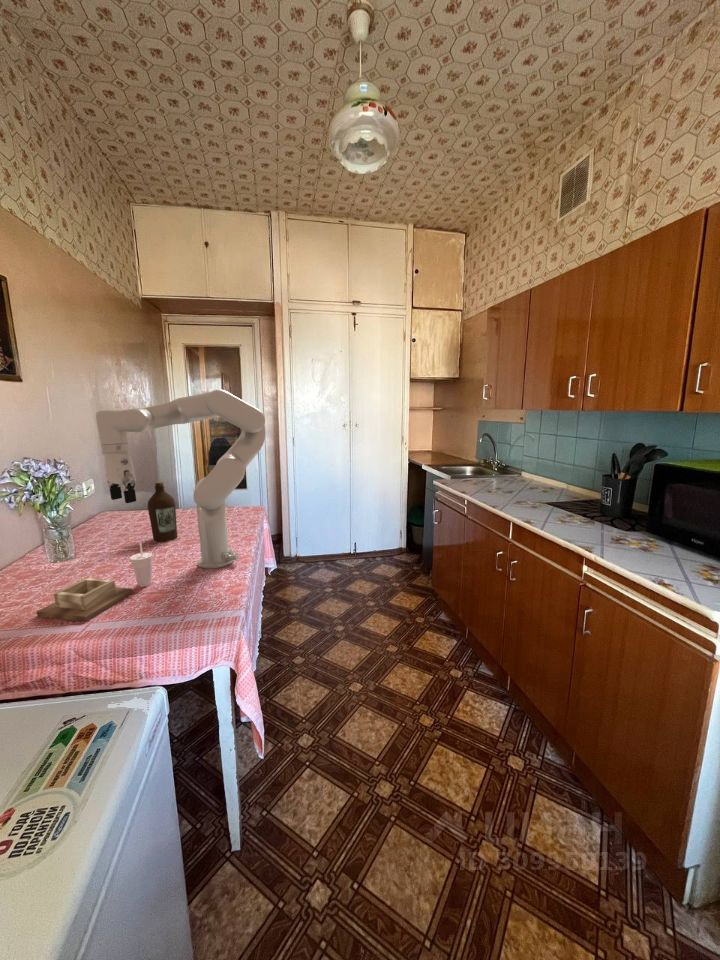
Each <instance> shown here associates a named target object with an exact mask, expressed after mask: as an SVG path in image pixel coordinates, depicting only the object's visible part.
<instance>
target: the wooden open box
mask: <svg viewBox="0 0 720 960" xmlns="http://www.w3.org/2000/svg"><path fill="white" fill-rule="evenodd" d="M115 582H116V581H115V580H114V579H101V578H93V577H92V578H91V577H90V578H89V577H85V578H82V579H81V580H79V581H77V582H74V583H73V584H71V585H69V586H67V587H64V588H63V589H61V590H59V591H56V592H54V593H53V596H54V597H53V598H54V602H52V603H51V604H48V605H47V606H45V607H43V608H41V609H39V610H36V614H37V615H36V616H37V617H38V616H43V617H42V618H46V617H49V618H48V619H54V618H56V620H63V619H64V620H66V621H72V620H75V621H74V622H81V621H84V622H83V623H87V622H89V621H91V620H92V619H94V618H95V617H97V616H100V615H101V614H102V613H104V612H105V611H107V610H108V609H110V608H112V607H113V606H115V605H117V604H119V603H120V602H122V601H123V600H125V599H127V598H128V597H129V595H130V596H131V595H133V594H134V591H133V590H134V589H133V588H126V587H116V584H115ZM132 593H133V594H132ZM124 598H125V599H124ZM121 600H122V601H121ZM90 619H91V620H90ZM88 620H89V621H88Z"/></svg>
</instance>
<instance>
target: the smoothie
mask: <svg viewBox="0 0 720 960" xmlns="http://www.w3.org/2000/svg"><path fill="white" fill-rule="evenodd" d="M142 544H143V543H142V542H140V543H139V545H138V546H139V552H140V553H136V554H133V555H132V556H129V562H130V563H131V565H132V570H133V572H134V577H135V579H136V582H137V586H138V587H139V586H140V587H139V588H144V586H145V587H148V586H151V584H152V578H153V577H152V570H153V569H152V567H153V558H154V556H153V555H154V554H153V552H148V551H147V552H146V551H145V552H143V547H142V546H143V545H142Z"/></svg>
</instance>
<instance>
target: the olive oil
mask: <svg viewBox="0 0 720 960" xmlns="http://www.w3.org/2000/svg"><path fill="white" fill-rule="evenodd" d="M154 489H155V491H154V493H153V494H152V496H151V497H150V498H149V499H148V501H147V510H148V511H147V512H148V516H149V522H150V528H151V533H152V539H153V542H155V541H156V542H155V543H164V541H166V542H170V540H171V541H172V540H173V539H174V540H175V538H176V539H177V538H178V528H177V527H178V524H177V512H176V501H175V499H174V497H173V496H172V495H170V494H169V493H168V492H167V491H165V485H164V482H163V481H157V482H154Z"/></svg>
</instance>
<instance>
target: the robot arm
mask: <svg viewBox="0 0 720 960" xmlns="http://www.w3.org/2000/svg"><path fill="white" fill-rule="evenodd" d="M216 417H217V418H218V417H219V418H221V419H223V420H224V421H227V422H228V423H229V424H232V425H234V426H235V427H237V428H239V429H241V432H240V435H239V437H237V439H236V440H235V442H234V443H233V444H232V446H231V447H230V448H229V449H228V450H227V451H226V452H225V453H224V454H223V455H222V456H221V457H220V458H219V459H218V460H217V461H216V465H214V467H213V468H212V469H211V470H210V472H209V473H208V474H207V475H206V476H205V477H203V478H201V479H199V480H198V481H197V482H196V484H195V487H194V490H193V497H192V498H193V501H194V503H195V505H196V511H197V513H196V514H197V525H198V534H199V545H200V554H201V558H199V559H198V560H197V566H198V567H199V568H201V569H209V570H211V569H212V570H213V569H219V568H220V569H221V568H223V567H226V566H229V565H231V564H232V563H234V561H238V560H239V552H233V549H232V548H231V547H230V546H229V535H228V523H227V520H228V519H227V510H226V499H227V498H228V497H230V495H231V494H232V493H233V492H234V490H235V489H236V488H237V487H238V485H239V484H240V483H241V482H242V480H243V479H244V477H245V474H246V469H247V467H248V466H249V465H250V464H251V462H252V461H253V460H254V458H256V456H257V455H258V454H259V452H260V451H261V450H262V447H263V446H264V442H265V441H266V439H265V438H266V427H265V424H266V417H265V415H264V413H263V412H262V411H261V410H260V409H259V408H257V407H255V406H253V405H251V404H249V403H248V402H246V401H245V400H243V399H240V398H239V397H237V396H235V395H233V394H232V393H230V392H229V391H226V390H224V389H222V388H221V389H214V390H211V391H209V392H203V393H197V394H194V395H188V396H184V397H183V396H182V397H178V398H175V399H173V400H171V401H169V402H165V403H161V404H157V405H153V406H146V407H142V408H139V407H138V408H129V409H123V410H119V409H102V410H97V412H96V413H95V420H96V427H97V431H98V437H99V442H100V443H99V444H100V448H101V455H102V456H104V467H105V476H106V480H107V483H108V488H109V494H110V495H109V496H110V499H111V500H112V501H113V500H114V501H115V500H118V499H119V500H120V499H123V496H124V502H125V504H129V503H134V502H135V503H136V502H137V497H136V487H135V486H136V481H137V479H136V473H135V468H134V463H133V459H132V457H131V454H130V445H129V439H128V433H142V432H146V431H151V430H154V429H155V430H156V429H158V428H163V427H167V426H173V425H185V424H191V423H195V422H199V421H204V420H208V419H212V418H216ZM127 432H128V433H127ZM121 486H122V487H121ZM121 488H123V489H124V491H123V494H122V489H121Z"/></svg>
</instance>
